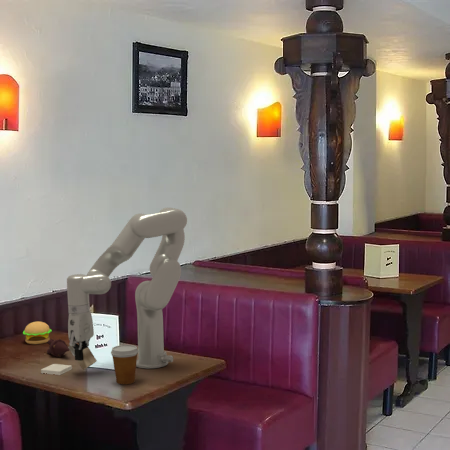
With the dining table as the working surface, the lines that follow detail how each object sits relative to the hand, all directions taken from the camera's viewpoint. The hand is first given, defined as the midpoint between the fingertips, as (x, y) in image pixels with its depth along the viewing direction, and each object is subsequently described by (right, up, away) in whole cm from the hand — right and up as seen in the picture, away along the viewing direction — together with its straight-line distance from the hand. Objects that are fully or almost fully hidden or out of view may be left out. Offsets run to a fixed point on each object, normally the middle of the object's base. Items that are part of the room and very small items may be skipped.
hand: (81, 358), depth 259 cm
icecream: (-14, -4, +25) cm, 28 cm away
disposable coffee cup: (+17, -6, -11) cm, 21 cm away
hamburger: (-29, -2, +48) cm, 56 cm away
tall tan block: (-1, 0, +1) cm, 2 cm away
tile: (-6, -5, +2) cm, 8 cm away
